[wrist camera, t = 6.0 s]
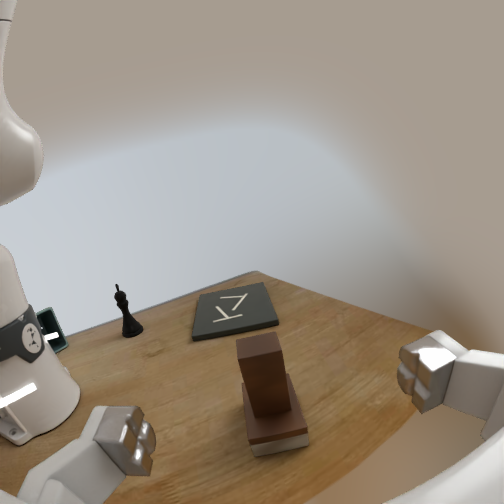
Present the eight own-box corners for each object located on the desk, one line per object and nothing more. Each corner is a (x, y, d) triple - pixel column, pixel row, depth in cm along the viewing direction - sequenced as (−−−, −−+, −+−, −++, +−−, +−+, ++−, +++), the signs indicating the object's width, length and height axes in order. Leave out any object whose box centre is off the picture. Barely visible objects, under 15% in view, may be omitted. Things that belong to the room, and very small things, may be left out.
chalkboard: (193, 341, 43) (191, 335, 43) (200, 298, 60) (199, 294, 60) (279, 324, 44) (278, 318, 43) (263, 286, 61) (263, 281, 61)
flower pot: (43, 304, 49) (51, 305, 44) (59, 339, 50) (69, 345, 45) (13, 319, 42) (17, 323, 37) (30, 355, 43) (37, 364, 38)
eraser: (254, 457, 20) (228, 381, 18) (246, 401, 28) (226, 327, 25) (309, 445, 20) (300, 366, 18) (291, 392, 28) (279, 316, 26)
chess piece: (142, 324, 52) (127, 277, 49) (144, 333, 48) (127, 283, 45) (122, 330, 50) (106, 284, 48) (122, 339, 46) (104, 290, 44)
